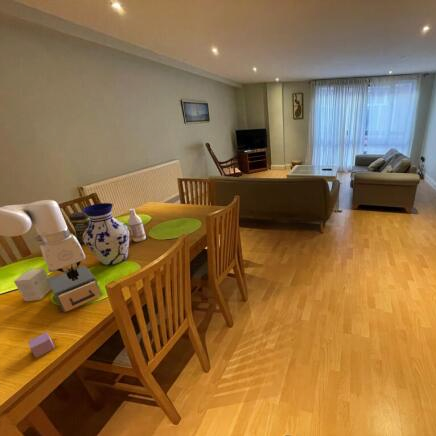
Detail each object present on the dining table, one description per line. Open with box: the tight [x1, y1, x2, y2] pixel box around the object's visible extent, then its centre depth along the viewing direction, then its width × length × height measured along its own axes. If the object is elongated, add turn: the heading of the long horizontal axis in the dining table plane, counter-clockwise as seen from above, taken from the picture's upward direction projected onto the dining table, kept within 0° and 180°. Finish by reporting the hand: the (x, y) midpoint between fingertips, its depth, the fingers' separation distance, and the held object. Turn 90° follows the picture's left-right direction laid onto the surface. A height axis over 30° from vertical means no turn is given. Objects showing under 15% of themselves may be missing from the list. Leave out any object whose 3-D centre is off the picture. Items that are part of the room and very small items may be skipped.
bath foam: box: [127, 208, 147, 243], centre depth 145 cm, size 7×7×20 cm
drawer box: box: [47, 265, 103, 313], centre depth 100 cm, size 15×13×9 cm
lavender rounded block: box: [28, 331, 55, 359], centre depth 77 cm, size 4×4×4 cm
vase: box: [81, 202, 131, 266], centre depth 122 cm, size 19×19×30 cm
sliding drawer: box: [58, 281, 102, 313], centre depth 97 cm, size 18×11×7 cm, turn 52°
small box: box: [13, 268, 52, 302], centre depth 100 cm, size 8×6×10 cm
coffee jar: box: [68, 211, 90, 244], centre depth 145 cm, size 10×8×19 cm
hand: (74, 278), depth 90 cm, fingers closed
